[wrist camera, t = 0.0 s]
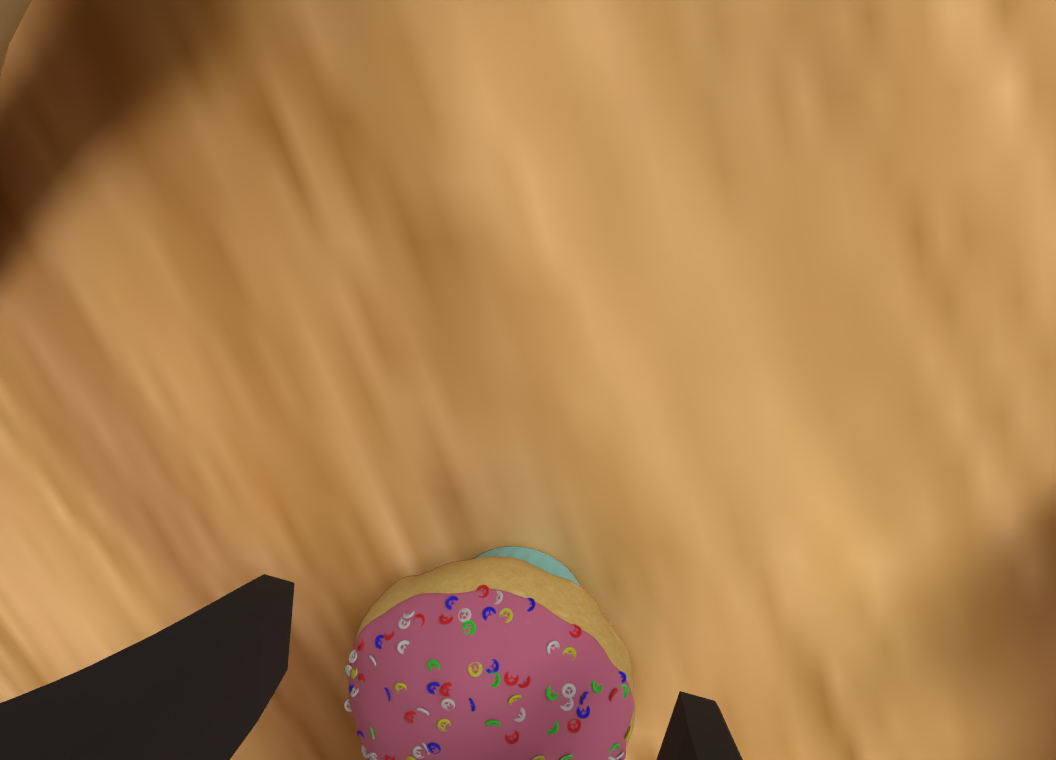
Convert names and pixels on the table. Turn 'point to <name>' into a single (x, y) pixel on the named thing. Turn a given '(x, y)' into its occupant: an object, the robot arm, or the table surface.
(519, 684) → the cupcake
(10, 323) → the table surface
